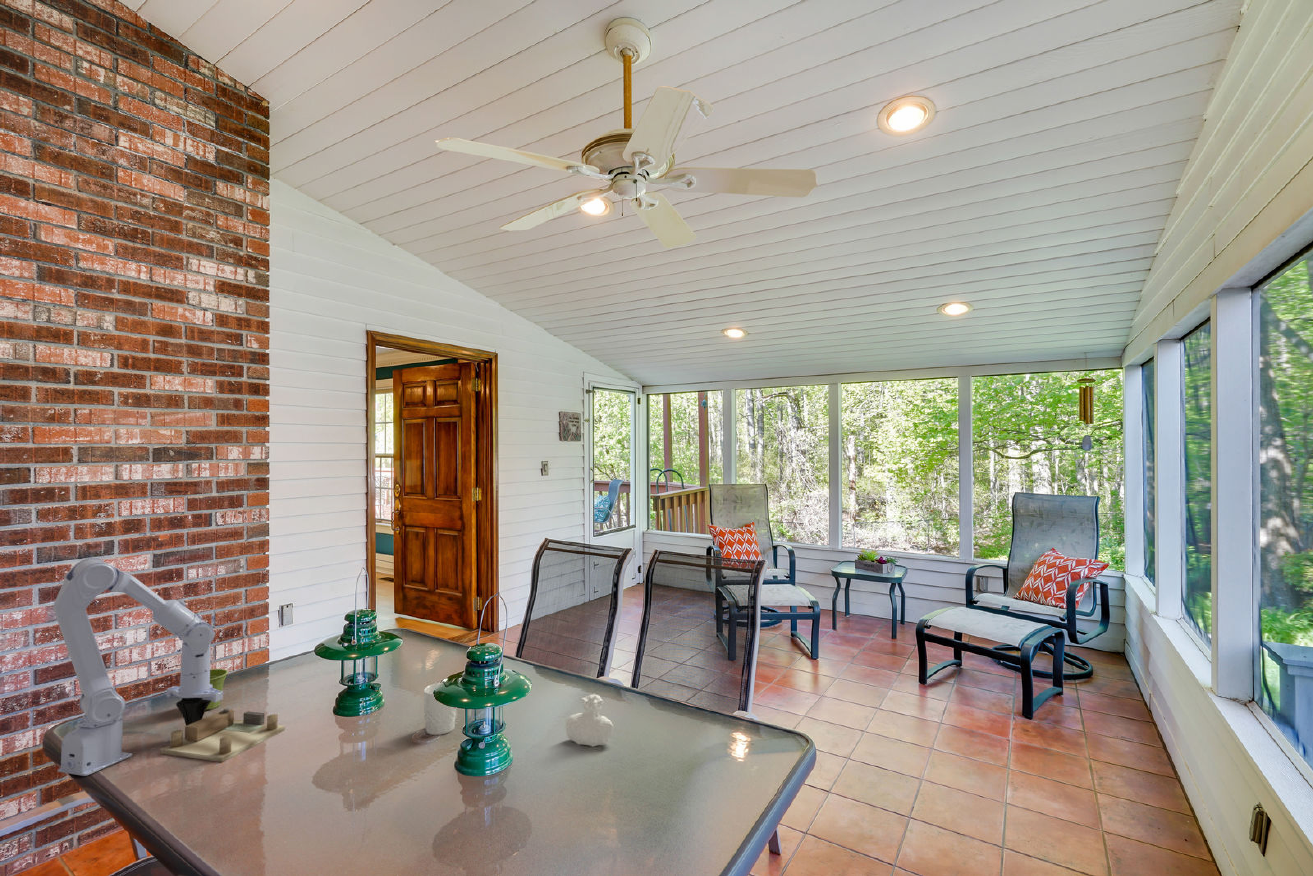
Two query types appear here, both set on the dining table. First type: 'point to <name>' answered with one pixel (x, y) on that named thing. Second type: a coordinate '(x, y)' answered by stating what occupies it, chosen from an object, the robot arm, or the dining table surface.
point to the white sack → (589, 724)
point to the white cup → (437, 714)
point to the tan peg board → (226, 739)
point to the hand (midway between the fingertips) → (193, 729)
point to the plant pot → (217, 683)
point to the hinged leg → (209, 725)
